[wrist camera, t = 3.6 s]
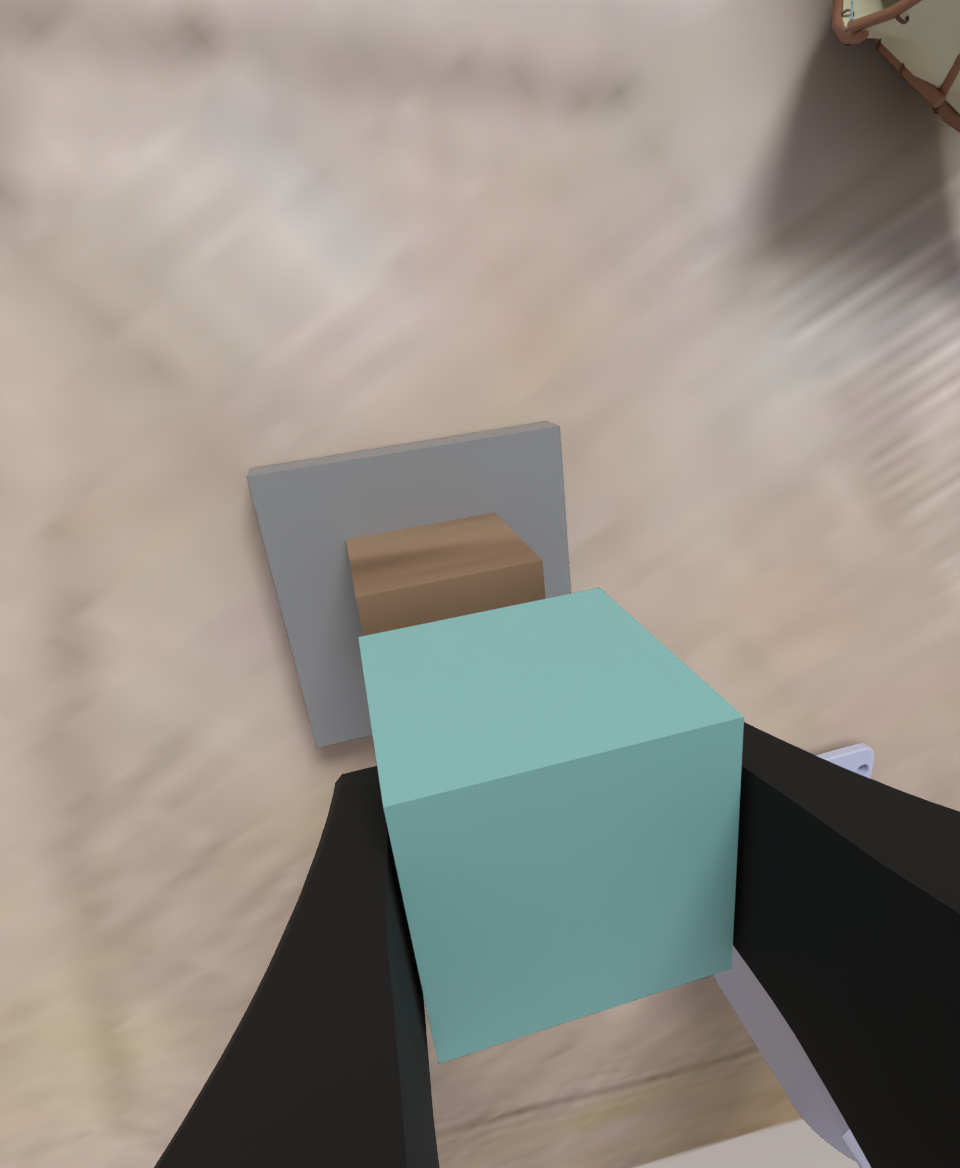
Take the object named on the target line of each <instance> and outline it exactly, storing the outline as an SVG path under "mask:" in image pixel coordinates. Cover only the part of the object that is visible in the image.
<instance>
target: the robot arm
mask: <svg viewBox="0 0 960 1168" xmlns="http://www.w3.org/2000/svg"><path fill="white" fill-rule="evenodd" d="M873 762H874V751H873V750H872V749H871V748H870V747H869V746H867V745H866V744H864V743H860V744H855V745H852V746H848V747H844V748H841V749H837V750H833V751H830V752H826V753H823V754H819V755H813V754H811V753H809V752H807V751H804V750H802V749H800V748H798V747H796V746H793V745H791V744H789V743H787V742H785V741H783V740H780V739H778V738H776V737H774V736H772V735H770V734H768V733H765V732H763V731H761V730H759V729H757V728H755V727H753V726H751V725H749V724H747V723H744V729H743V749H742V769H741V789H740V809H739V829H738V850H737V870H736V890H735V910H734V930H733V950H732V969H729V970H726V971H723V972H720V973H717V974H714V975H712V976H713V977H714V979H715V980H716V982H717V984H718V985H719V987H720V988H721V990H722V992H723V993H724V995H725V996H726V998H727V1000H728V1001H729V1003H730V1005H731V1006H732V1008H733V1009H734V1011H735V1013H736V1014H737V1016H738V1017H739V1019H740V1021H741V1022H742V1024H743V1026H744V1027H745V1029H746V1030H747V1032H748V1034H749V1035H750V1037H751V1038H752V1040H753V1042H754V1043H755V1045H756V1046H757V1048H758V1050H759V1051H760V1053H761V1055H762V1056H763V1058H764V1059H765V1061H766V1063H767V1064H768V1066H769V1067H770V1069H771V1071H772V1072H773V1074H774V1075H775V1077H776V1079H777V1080H778V1082H779V1084H780V1085H781V1087H782V1088H783V1090H784V1092H785V1093H786V1095H787V1096H788V1098H789V1100H790V1101H791V1103H792V1104H793V1106H794V1107H795V1109H796V1110H797V1111H798V1113H799V1114H800V1115H801V1117H802V1118H803V1119H804V1120H805V1121H806V1123H807V1124H808V1125H809V1126H810V1127H811V1128H812V1129H813V1130H814V1131H815V1132H816V1133H817V1134H818V1135H819V1136H820V1137H821V1138H823V1139H824V1140H825V1141H826V1142H827V1143H829V1144H830V1145H832V1146H833V1147H834V1148H835V1149H837V1150H838V1151H840V1152H841V1153H843V1154H844V1155H846V1156H847V1157H849V1158H851V1159H852V1160H854V1161H856V1162H857V1163H858V1165H859V1167H860V1168H960V812H959V811H956V810H953V809H950V808H947V807H944V806H941V805H938V804H935V803H932V802H929V801H927V800H924V799H921V798H919V797H916V796H913V795H910V794H908V793H905V792H902V791H900V790H897V789H895V788H892V787H890V786H887V785H885V784H882V783H880V782H877V781H875V780H872V779H871V775H872V769H873ZM154 1168H439V1161H438V1153H437V1145H436V1136H435V1128H434V1119H433V1108H432V1096H431V1084H430V1072H429V1059H428V1047H427V1035H426V1023H425V1011H424V999H423V990H422V986H421V981H420V976H419V972H418V967H417V962H416V958H415V953H414V948H413V944H412V939H411V934H410V930H409V925H408V920H407V916H406V911H405V906H404V902H403V897H402V892H401V888H400V883H399V878H398V874H397V869H396V864H395V860H394V855H393V851H392V846H391V841H390V837H389V832H388V827H387V823H386V818H385V813H384V809H383V802H382V795H381V789H380V782H379V775H378V768H377V766H375V767H371V768H366V769H362V770H358V771H354V772H350V773H346V774H342V775H341V776H340V778H339V779H338V780H337V781H336V783H335V788H334V793H333V798H332V802H331V806H330V810H329V813H328V817H327V820H326V824H325V827H324V830H323V833H322V836H321V839H320V842H319V845H318V848H317V851H316V854H315V857H314V859H313V862H312V865H311V867H310V870H309V873H308V875H307V878H306V881H305V883H304V886H303V889H302V891H301V894H300V896H299V899H298V901H297V904H296V906H295V908H294V911H293V913H292V915H291V917H290V920H289V922H288V924H287V926H286V929H285V931H284V933H283V935H282V938H281V940H280V942H279V944H278V947H277V949H276V951H275V953H274V956H273V958H272V960H271V962H270V964H269V966H268V968H267V971H266V973H265V975H264V977H263V979H262V981H261V983H260V985H259V987H258V989H257V991H256V993H255V995H254V997H253V999H252V1001H251V1003H250V1004H249V1006H248V1008H247V1010H246V1012H245V1014H244V1016H243V1018H242V1020H241V1021H240V1023H239V1025H238V1027H237V1029H236V1031H235V1033H234V1034H233V1036H232V1038H231V1040H230V1042H229V1044H228V1045H227V1047H226V1049H225V1051H224V1053H223V1054H222V1056H221V1058H220V1060H219V1061H218V1063H217V1065H216V1066H215V1068H214V1070H213V1071H212V1073H211V1075H210V1077H209V1078H208V1080H207V1082H206V1083H205V1085H204V1087H203V1088H202V1090H201V1092H200V1094H199V1095H198V1097H197V1099H196V1100H195V1102H194V1104H193V1105H192V1107H191V1109H190V1111H189V1112H188V1114H187V1116H186V1117H185V1119H184V1121H183V1122H182V1124H181V1125H180V1127H179V1129H178V1130H177V1132H176V1134H175V1135H174V1137H173V1138H172V1140H171V1142H170V1143H169V1145H168V1146H167V1148H166V1150H165V1151H164V1153H163V1154H162V1156H161V1157H160V1159H159V1161H158V1162H157V1164H156V1165H155V1167H154Z"/></svg>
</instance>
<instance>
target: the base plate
mask: <svg viewBox="0 0 960 1168" xmlns="http://www.w3.org/2000/svg"><path fill="white" fill-rule="evenodd" d="M247 480H248V484H249V488H250V492H251V496H252V499H253V503H254V507H255V511H256V515H257V519H258V523H259V527H260V530H261V534H262V538H263V542H264V546H265V550H266V554H267V558H268V561H269V565H270V569H271V573H272V577H273V581H274V585H275V589H276V592H277V596H278V600H279V604H280V608H281V612H282V616H283V619H284V623H285V627H286V631H287V635H288V639H289V643H290V647H291V650H292V654H293V658H294V662H295V666H296V670H297V674H298V678H299V681H300V685H301V689H302V693H303V697H304V701H305V705H306V709H307V712H308V716H309V720H310V724H311V728H312V732H313V736H314V740H315V743H316V747H317V748H320V747H324V746H328V745H332V744H336V743H341V742H345V741H349V740H353V739H358V738H362V737H366V736H370V735H373V734H372V727H371V720H370V714H369V707H368V700H367V693H366V686H365V679H364V673H363V666H362V659H361V652H360V645H359V638H358V637H361V636H363V631H362V627H361V622H360V617H359V612H358V607H357V602H356V598H355V592H354V586H353V580H352V574H351V568H350V562H349V556H348V550H347V544H346V540H347V539H352V538H358V537H363V536H369V535H374V534H380V533H385V532H391V531H396V530H402V529H407V528H413V527H418V526H424V525H429V524H434V523H440V522H445V521H451V520H456V519H462V518H467V517H473V516H478V515H484V514H489V513H496V514H497V515H498V516H499V517H500V518H501V519H502V520H503V521H504V522H505V523H506V524H507V525H508V526H509V527H510V528H511V529H512V530H513V531H514V532H515V533H516V534H517V535H518V536H519V537H520V538H521V539H522V540H523V541H524V542H525V543H526V544H527V545H528V546H529V547H530V548H531V549H532V550H533V551H534V552H535V553H536V554H537V555H538V556H539V557H540V558H541V559H542V561H543V573H544V585H545V597H546V599H547V598H552V597H557V596H562V595H567V594H571V585H570V570H569V555H568V540H567V526H566V511H565V496H564V481H563V466H562V451H561V436H560V426H558V425H556V424H553V423H550V422H548V421H546V422H540V423H533V424H527V425H521V426H515V427H508V428H502V429H496V430H490V431H483V432H477V433H471V434H465V435H458V436H452V437H446V438H440V439H433V440H427V441H421V442H415V443H408V444H402V445H396V446H389V447H383V448H377V449H371V450H364V451H358V452H352V453H346V454H339V455H333V456H327V457H321V458H314V459H308V460H302V461H296V462H289V463H283V464H277V465H271V466H264V467H258V468H252V469H250V470H249V472H248V475H247Z"/></svg>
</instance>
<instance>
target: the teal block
mask: <svg viewBox="0 0 960 1168" xmlns="http://www.w3.org/2000/svg"><path fill="white" fill-rule="evenodd" d="M358 638H359V645H360V652H361V659H362V666H363V673H364V679H365V686H366V693H367V700H368V707H369V714H370V720H371V727H372V734H373V741H374V748H375V754H376V761H377V768H378V775H379V782H380V789H381V795H382V802H383V809H384V813H385V818H386V823H387V827H388V832H389V837H390V841H391V846H392V851H393V855H394V860H395V864H396V869H397V874H398V878H399V883H400V888H401V892H402V897H403V902H404V906H405V911H406V916H407V920H408V925H409V930H410V934H411V939H412V944H413V948H414V953H415V958H416V962H417V967H418V972H419V976H420V981H421V986H422V990H423V995H424V1000H425V1004H426V1009H427V1014H428V1018H429V1023H430V1028H431V1032H432V1037H433V1042H434V1046H435V1051H436V1055H437V1060H438V1064H440V1063H443V1062H446V1061H449V1060H452V1059H455V1058H458V1057H461V1056H464V1055H467V1054H470V1053H473V1052H477V1051H480V1050H483V1049H486V1048H489V1047H492V1046H495V1045H498V1044H501V1043H504V1042H507V1041H510V1040H514V1039H517V1038H520V1037H523V1036H526V1035H529V1034H532V1033H535V1032H538V1031H541V1030H544V1029H547V1028H551V1027H554V1026H557V1025H560V1024H563V1023H566V1022H569V1021H572V1020H575V1019H578V1018H581V1017H585V1016H588V1015H591V1014H594V1013H597V1012H600V1011H603V1010H606V1009H609V1008H612V1007H615V1006H618V1005H622V1004H625V1003H628V1002H631V1001H634V1000H637V999H640V998H643V997H646V996H649V995H652V994H655V993H659V992H662V991H665V990H668V989H671V988H674V987H677V986H680V985H683V984H686V983H689V982H692V981H696V980H699V979H702V978H705V977H708V976H711V975H714V974H717V973H720V972H723V971H726V970H729V969H732V950H733V930H734V910H735V890H736V870H737V850H738V829H739V809H740V789H741V769H742V749H743V729H744V716H743V715H741V714H740V713H739V712H738V711H737V710H736V709H735V708H734V707H733V706H731V705H730V704H729V703H728V702H727V701H726V700H725V699H724V698H722V697H721V696H720V695H719V694H718V693H717V692H716V691H715V690H713V689H712V688H711V687H710V686H709V685H708V684H707V683H706V682H705V681H703V680H702V679H701V678H700V677H699V676H698V675H697V674H696V673H694V672H693V671H692V670H691V669H690V668H689V667H688V666H687V665H686V664H684V663H683V662H682V661H681V660H680V659H679V658H678V657H677V656H675V655H674V654H673V653H672V652H671V651H670V650H669V649H668V648H666V647H665V646H664V645H663V644H662V643H661V642H660V641H659V640H658V639H656V638H655V637H654V636H653V635H652V634H651V633H650V632H649V631H647V630H646V629H645V628H644V627H643V626H642V625H641V624H640V623H639V622H637V621H636V620H635V619H634V618H633V617H632V616H631V615H630V614H628V613H627V612H626V611H625V610H624V609H623V608H622V607H621V606H620V605H618V604H617V603H616V602H615V601H614V600H613V599H612V598H611V597H609V596H608V595H607V594H606V593H605V592H604V591H603V590H602V589H600V588H596V589H591V590H586V591H581V592H577V593H572V594H567V595H562V596H557V597H552V598H547V599H542V600H537V601H533V602H528V603H523V604H518V605H513V606H508V607H503V608H498V609H493V610H489V611H484V612H479V613H474V614H469V615H464V616H459V617H454V618H449V619H445V620H440V621H435V622H430V623H425V624H420V625H415V626H410V627H405V628H401V629H396V630H391V631H386V632H381V633H376V634H371V635H366V636H361V637H358Z"/></svg>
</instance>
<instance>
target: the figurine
mask: <svg viewBox="0 0 960 1168" xmlns="http://www.w3.org/2000/svg"><path fill="white" fill-rule="evenodd" d="M832 29H833V31H834V32H835V34H836V36H837V38H838V39H839V41H840V43H842V44H845V45H846V46H850V45H852V44H859V43H861V42H863V41H864V40H865V39H866V38H874V39H875V43H876V49H877V50H878V52H881V53H882V54H883V56H884V57H885V58H886V59H887V60H888V61H889V62H890V63H891V64H892V65H893V66H894V68H895V69H896V70H897V71H898V72H899V73H900V74H901V76H902V77H904V78H905V79H906V81H907V82H908V83H909V84H911V85H912V86H913V87H914V88H915V89H916V90H917V91H918V92H919V93H920V94H921V95H922V96H923V97H924V98H925V99H926V100H927V101H928V102H929V103H930V104H931V105H932V107H933V112H934V113H935V114H939V115H940V117H941V118H942V119H943V120H944V122H946V123H947V124H949V125H950V126H951V127H953V128H954V129H956V130H957V131H958V132H960V0H834V1H833V17H832ZM935 110H936V111H935Z"/></svg>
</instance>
